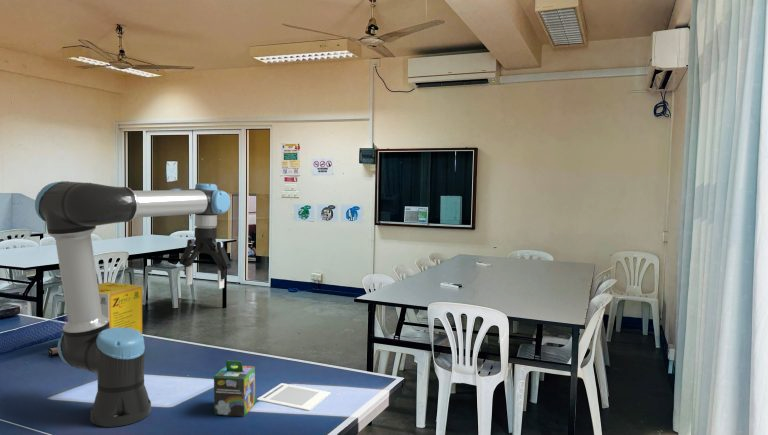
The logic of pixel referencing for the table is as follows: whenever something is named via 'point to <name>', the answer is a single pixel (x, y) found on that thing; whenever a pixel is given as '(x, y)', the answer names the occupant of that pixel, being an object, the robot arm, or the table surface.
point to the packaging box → (121, 305)
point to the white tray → (294, 396)
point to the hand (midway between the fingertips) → (204, 286)
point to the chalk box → (234, 389)
